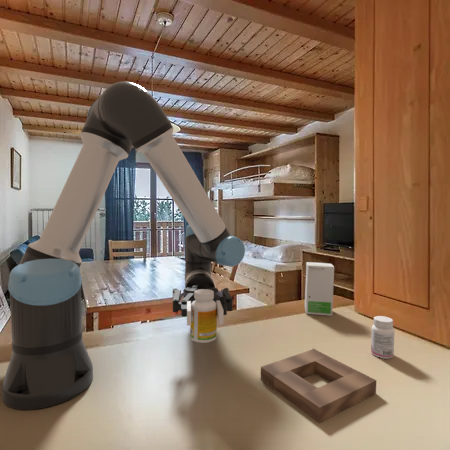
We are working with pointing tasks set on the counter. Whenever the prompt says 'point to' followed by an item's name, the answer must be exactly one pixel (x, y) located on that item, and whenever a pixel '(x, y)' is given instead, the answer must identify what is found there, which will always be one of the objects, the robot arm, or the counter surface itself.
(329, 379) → the socket block
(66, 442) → the counter surface
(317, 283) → the skincare box
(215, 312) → the supplement bottle
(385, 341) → the pill bottle
